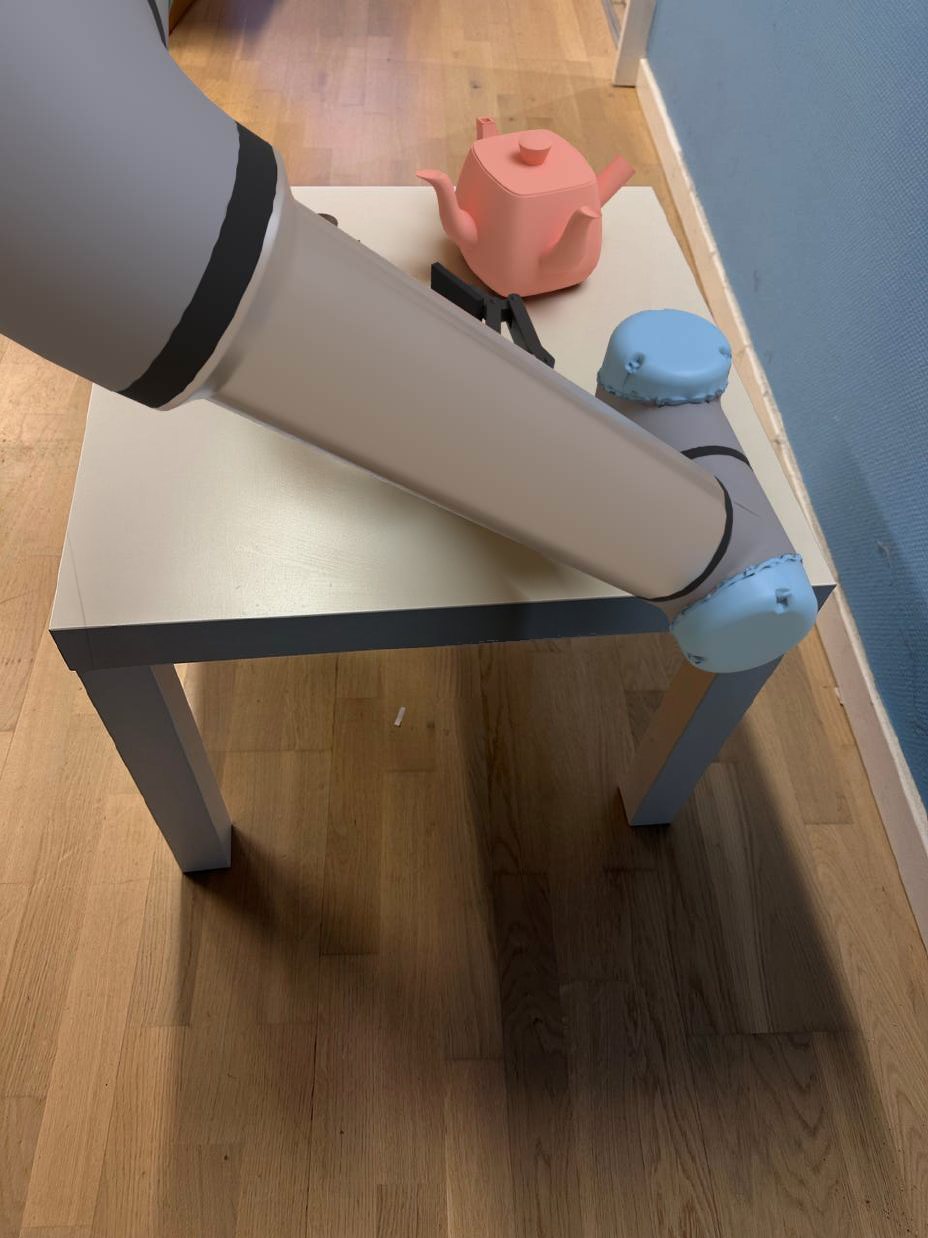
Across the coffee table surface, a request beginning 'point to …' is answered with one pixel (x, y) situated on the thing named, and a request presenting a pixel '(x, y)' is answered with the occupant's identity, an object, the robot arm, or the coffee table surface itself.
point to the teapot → (527, 209)
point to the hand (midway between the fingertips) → (372, 302)
